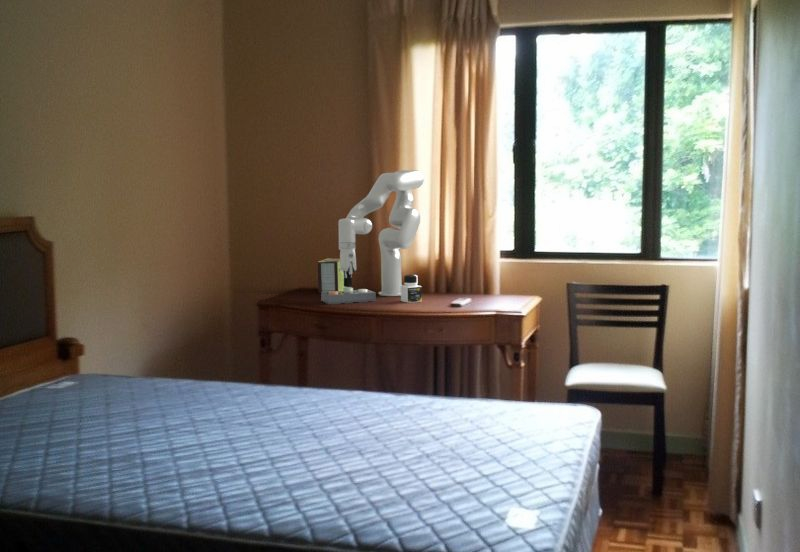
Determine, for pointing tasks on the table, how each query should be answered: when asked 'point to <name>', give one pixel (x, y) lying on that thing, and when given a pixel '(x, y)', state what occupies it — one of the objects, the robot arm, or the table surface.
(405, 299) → the medicine bottle
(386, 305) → the table surface
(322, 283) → the protein box
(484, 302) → the table surface
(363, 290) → the cream button
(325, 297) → the console
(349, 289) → the sage button
